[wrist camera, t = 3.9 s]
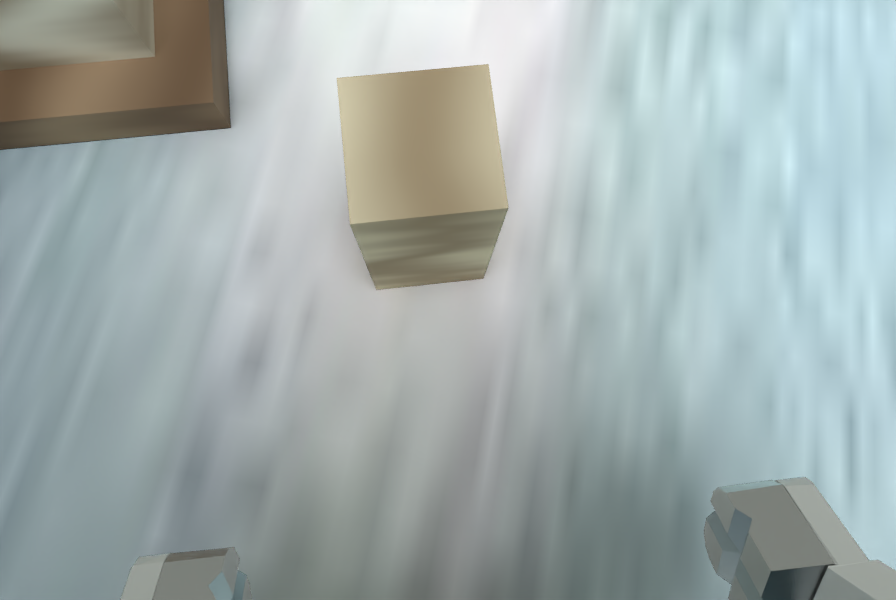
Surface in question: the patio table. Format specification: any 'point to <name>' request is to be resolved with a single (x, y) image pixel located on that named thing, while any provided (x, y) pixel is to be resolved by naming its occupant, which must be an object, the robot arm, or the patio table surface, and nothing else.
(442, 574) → the patio table surface
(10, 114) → the plinth
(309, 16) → the patio table surface
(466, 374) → the patio table surface
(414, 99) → the birch block
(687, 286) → the patio table surface
